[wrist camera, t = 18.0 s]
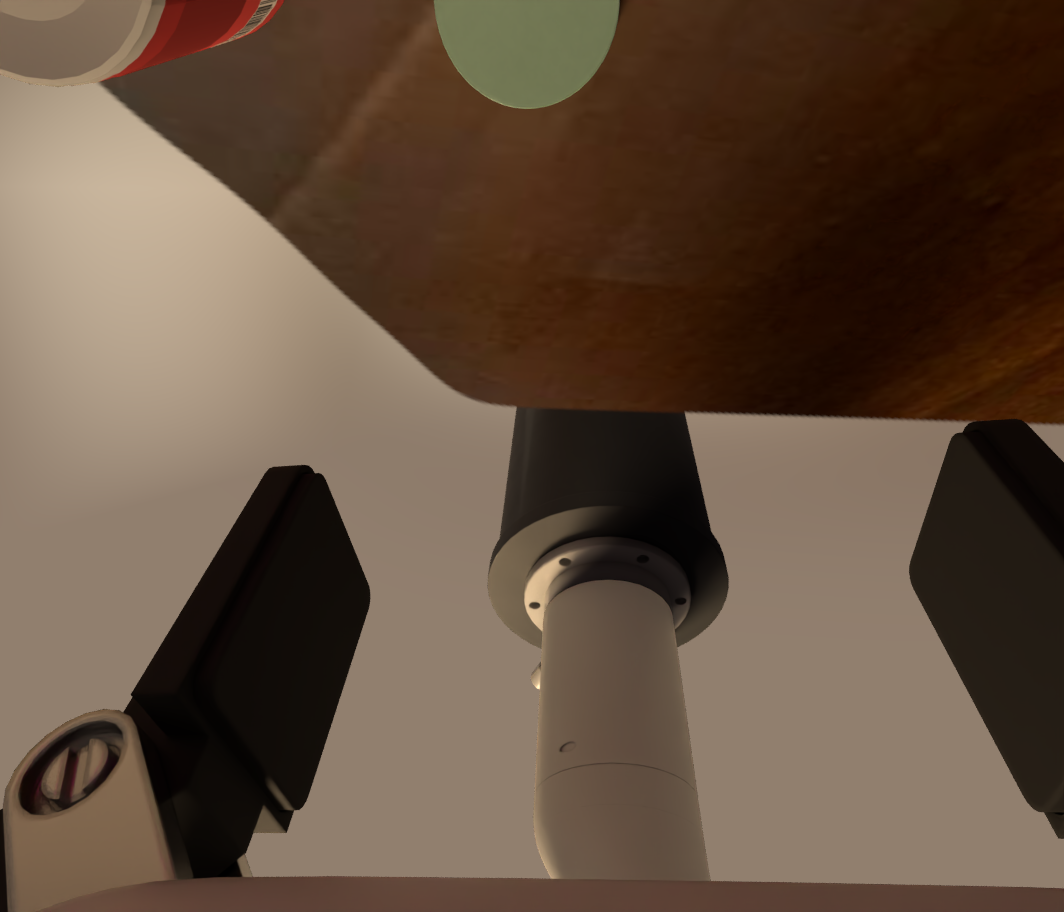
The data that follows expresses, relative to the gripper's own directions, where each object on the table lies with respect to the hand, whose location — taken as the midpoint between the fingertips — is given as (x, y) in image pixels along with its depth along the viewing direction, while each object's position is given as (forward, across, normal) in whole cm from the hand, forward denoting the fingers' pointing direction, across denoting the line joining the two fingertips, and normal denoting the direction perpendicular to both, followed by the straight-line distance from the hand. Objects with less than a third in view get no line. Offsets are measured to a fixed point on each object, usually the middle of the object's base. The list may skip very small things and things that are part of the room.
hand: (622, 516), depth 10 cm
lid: (+21, +2, -6) cm, 22 cm away
